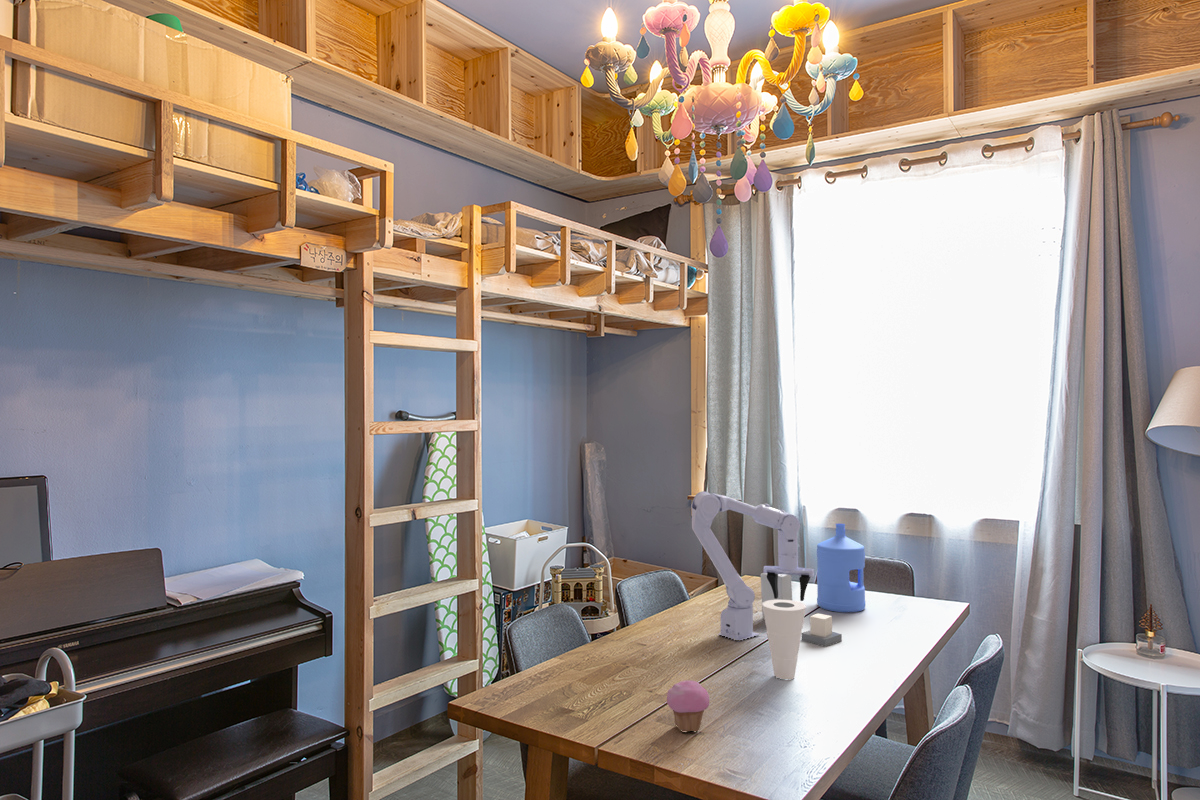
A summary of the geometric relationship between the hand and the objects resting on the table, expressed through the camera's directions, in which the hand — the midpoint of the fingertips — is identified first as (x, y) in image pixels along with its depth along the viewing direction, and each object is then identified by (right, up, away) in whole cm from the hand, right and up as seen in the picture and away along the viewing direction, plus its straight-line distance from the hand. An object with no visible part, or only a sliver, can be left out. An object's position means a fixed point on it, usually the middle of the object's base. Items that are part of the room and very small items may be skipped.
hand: (789, 599), depth 224 cm
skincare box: (0, -11, +15) cm, 19 cm away
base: (+8, -10, -6) cm, 14 cm away
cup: (-10, -10, -36) cm, 39 cm away
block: (+8, -8, -6) cm, 13 cm away
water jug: (+25, -11, +30) cm, 41 cm away
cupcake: (-38, -10, -67) cm, 78 cm away
